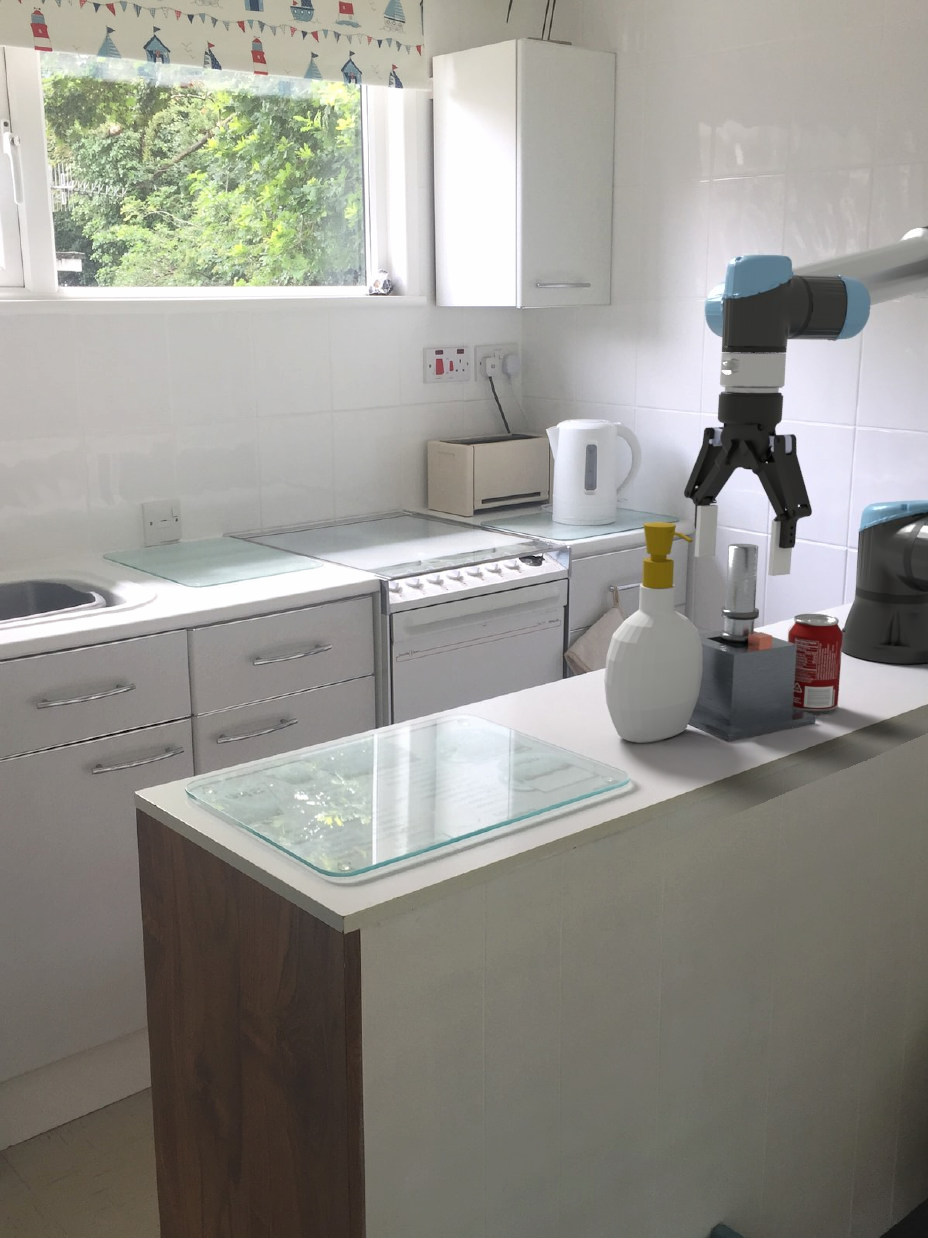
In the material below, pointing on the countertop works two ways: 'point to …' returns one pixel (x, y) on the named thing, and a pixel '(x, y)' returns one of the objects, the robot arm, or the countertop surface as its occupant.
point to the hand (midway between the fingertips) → (740, 565)
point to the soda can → (816, 662)
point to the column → (740, 595)
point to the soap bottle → (654, 653)
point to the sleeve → (747, 688)
